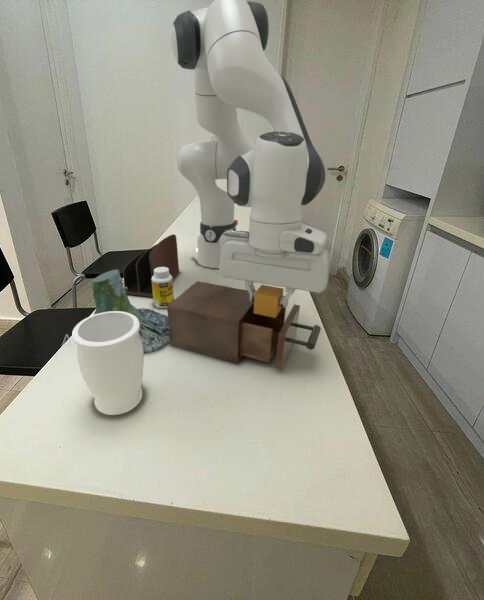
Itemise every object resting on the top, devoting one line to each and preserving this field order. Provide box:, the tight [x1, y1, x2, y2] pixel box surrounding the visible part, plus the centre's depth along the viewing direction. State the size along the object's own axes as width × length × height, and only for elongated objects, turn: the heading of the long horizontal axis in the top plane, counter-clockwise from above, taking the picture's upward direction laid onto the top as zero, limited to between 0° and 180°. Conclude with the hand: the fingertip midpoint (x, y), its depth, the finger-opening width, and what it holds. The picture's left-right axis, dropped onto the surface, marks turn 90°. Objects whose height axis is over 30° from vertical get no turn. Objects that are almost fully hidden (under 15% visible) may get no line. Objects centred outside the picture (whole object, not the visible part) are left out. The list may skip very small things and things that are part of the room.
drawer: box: [239, 303, 322, 371], centre depth 68 cm, size 20×13×8 cm, turn 62°
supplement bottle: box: [151, 267, 175, 309], centre depth 88 cm, size 6×6×10 cm
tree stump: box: [91, 269, 170, 354], centre depth 75 cm, size 18×20×18 cm
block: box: [254, 284, 284, 318], centre depth 65 cm, size 4×4×4 cm
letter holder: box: [122, 234, 180, 298], centre depth 100 cm, size 10×20×14 cm, turn 162°
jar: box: [71, 311, 145, 416], centre depth 55 cm, size 11×10×15 cm
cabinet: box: [166, 280, 254, 364], centre depth 73 cm, size 16×14×10 cm
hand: (268, 303), depth 65 cm, fingers closed on block, 4 cm apart
